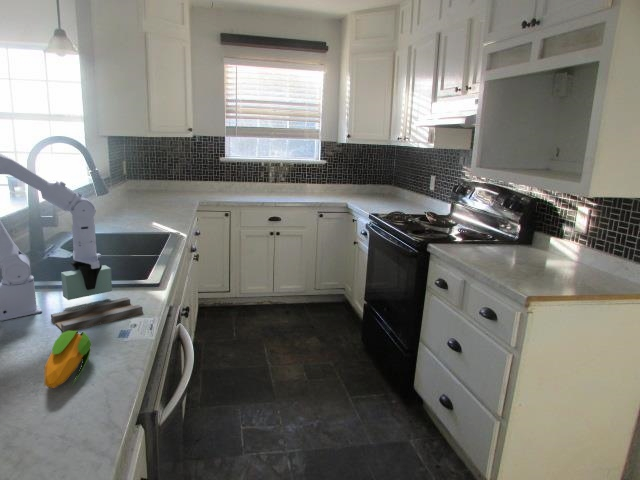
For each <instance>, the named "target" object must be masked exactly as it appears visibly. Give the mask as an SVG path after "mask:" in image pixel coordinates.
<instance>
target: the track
mask: <svg viewBox="0 0 640 480" xmlns="http://www.w3.org/2000/svg"><path fill="white" fill-rule="evenodd" d="M143 313H144V311H143V306H142V305H140V304H137V305H133V304H132V303H131V299H130V298H129V297H122V298H118V299H113V300H110V301H108V300H107V301H105V302H100V303H95V304H91V305H87V306H81V307H78V308H74V309H69V310H64V311H60V312H56V313H51V314H50V318H51V319H50V321H51V322H52V323H53V324H54V325H55V326H56V327H57V328H59V329H60V330H61V331H62V333H63V332H66V331H79V330H82V329H85V328H89V327H90V328H91V327H93V326H97V325H101V324H105V323H110V322H113V321H117V320H120V319H124V318H128V317H132V316H137V315H139V314H141V315H142V314H143Z"/></svg>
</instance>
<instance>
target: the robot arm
mask: <svg viewBox="0 0 640 480" xmlns="http://www.w3.org/2000/svg"><path fill="white" fill-rule="evenodd" d="M0 175H9V176H11V177H13V178H15V179H17V180H19V181H20V182H22V183H24V184H26V185H28V186H29V187H31V188H34V189H36V190H37V191H40V194H41V198H42V199H43V200H45V201H46V202H48V203H50V204H52V205H54V206H55V207H57V208H59V209H60V210H62V211H64V212H70V214H71V215H72V216H71V217H72V218H71V219H72V220H71V221H72V225H71V232H72V233H71V234H72V246H73V251H72V258H73V261H71V262H70V265H71V266H72V268H73V269H74V270H79V269H80V271H81V273H82V275H83V278H84V282H85V287H86V289H87V290H91V289H95V286H96V281H97V277H98V274H99V272H100V270H101V268H102V266H103V264H100V260H99V259H98V258H101V257H102V254H101V253H97V240H96V239H97V238H96V225H95V215H96V211H97V210H96V209H95V205H94V204H93V203H92V202H91V201H90V200H89V199H88V198H87V197H86V196H83V193H81V192H78V193H77V192H75V191H74V190H72V189H71V188H69V187H67V186H66V183H65V182H64V181H60V182H59V181H57V180H51V181H50V180H49V181H47V180H46V179H44V178H42V177H41V176H39V175H38V174H36V173H35V172H33V171H31V170H30V169H28V167H25V166H23V165H22V164H20V163H19V162H17V161H15V160H14V159H12V158H10V157H8V156H6V155H4V154H2V153H0ZM0 267H1V276H2V279H1V281H0V321H7V320H11V319H16V318H21V317H24V316H29V315H31V316H32V315H34V314H35V315H36V314H39V313H42V312H43V310H42V309H41V307H39V306H38V305H37V296H36V289H35V288H36V287H35V279H34V278H35V277H34V275H32V269H31V260H30V258H29V256H28V255H27V254H25V253H24V252H22V251H21V250H20V248H19V247H18V245H17V244H16V243H15V242H14V240H13V239H12V237H11V235H10V234H9V232H8V230H7V229H6V227H5V226H4V224H3V222H2V220H1V219H0Z"/></svg>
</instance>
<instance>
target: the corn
mask: <svg viewBox="0 0 640 480" xmlns="http://www.w3.org/2000/svg"><path fill="white" fill-rule="evenodd" d="M91 347H92V341H91V340H90V337H89V336H88V335H87V333H85V332H84V331H82V332H80V334H79V330H74V331H66V332H63V331H62V333H61V334H60V335H59V337H58V338H57V339H56V340H55V341H54V343H53V346H52V351H51V353H50V355H49V357H48V359H47V361H46V363H45V365H44V386H46V387H48V388H50V389H54V388H55V389H56V388H57V387H59V386H60V385H62V384H63V383H66V381H67V380H68V379H69V378H70V377H71V376H72V374H73V373H75V371H76V370H77V369H78V367H79V365H81V364H80V363H82V359H83V363H82V367H81V369H80V368H79V369H80V371H79V370H78V372H79V373H78V372H77V374H78V375H77V374H76V375H77V377H76V376H75V377H76V379H75V378H74V379H75V380H73V381H74V382H72V383H71V384H70V387H72V386H73V385H74V384H75V383H76V382H77V380H78V379H79V377H80V376H81V374H82V372H83V371H84V368H85V367H86V364H87V363H88V361H89V357H90V354H91Z"/></svg>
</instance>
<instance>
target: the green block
mask: <svg viewBox="0 0 640 480" xmlns="http://www.w3.org/2000/svg"><path fill="white" fill-rule="evenodd" d="M60 276H61V288H62V289H61V290H62V297H63V298H65V299H66V300H67V301H71V300H76V299H80V298H85V297H90V296H95V295H100V294H105V293H109V292H113V286H112V285H113V284H112V268H111V267H109V266H107V265H106V264H104V265H103V264H102V268H101V270H100V272H99V274H98V277H97V281H96V286H95V289H91V290H87V289H86V287H85V282H84V278H83V275H82V273H81V271H80V269H79V270H75V269H74V270H67V271H63V272H62V271H61V272H60Z"/></svg>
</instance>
